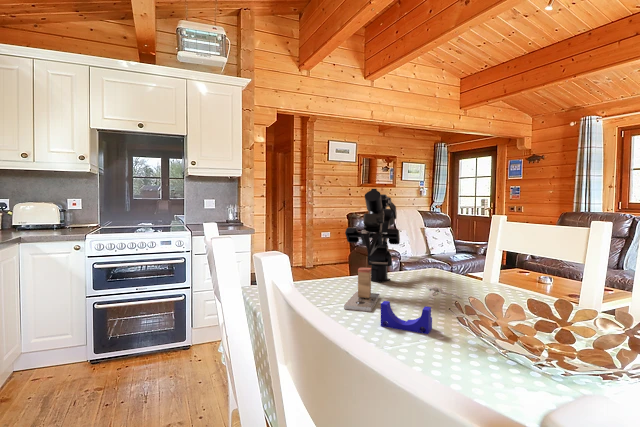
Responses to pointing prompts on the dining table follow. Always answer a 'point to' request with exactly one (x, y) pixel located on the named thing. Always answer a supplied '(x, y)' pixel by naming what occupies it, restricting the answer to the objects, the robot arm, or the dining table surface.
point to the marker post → (364, 282)
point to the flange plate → (362, 302)
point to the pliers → (436, 288)
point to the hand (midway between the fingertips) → (369, 254)
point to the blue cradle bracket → (416, 325)
